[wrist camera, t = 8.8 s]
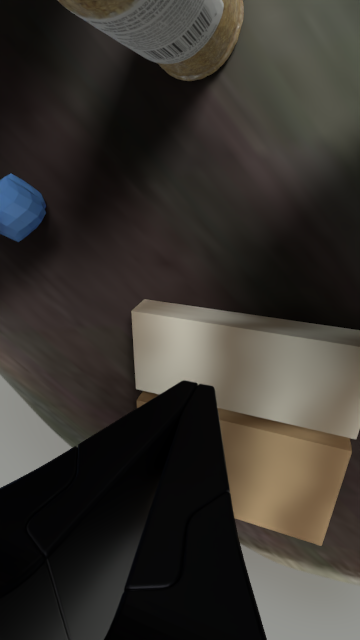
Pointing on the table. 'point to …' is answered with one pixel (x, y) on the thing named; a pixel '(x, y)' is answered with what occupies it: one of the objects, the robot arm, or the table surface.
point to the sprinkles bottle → (169, 30)
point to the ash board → (252, 363)
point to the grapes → (19, 208)
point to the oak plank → (281, 472)
